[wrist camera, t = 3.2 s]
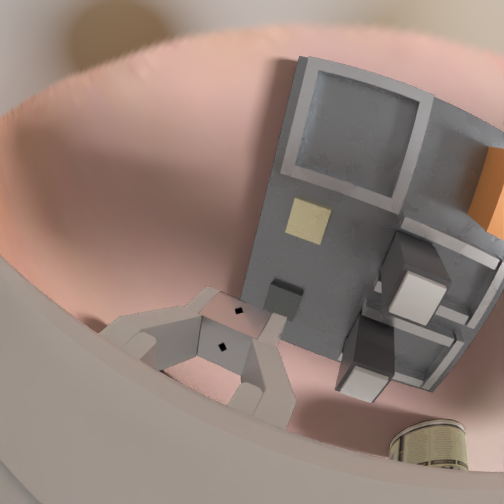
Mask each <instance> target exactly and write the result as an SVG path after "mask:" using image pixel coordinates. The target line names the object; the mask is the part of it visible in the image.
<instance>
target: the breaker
mask: <svg viewBox="0 0 504 504" xmlns="http://www.w3.org/2000/svg"><path fill="white" fill-rule="evenodd" d="M394 375H395V345H394V327H393V326H390V325H387V324H384V323H382V322H379V321H376V320H374V319H371V318H368V317H366V316H363V315H362V314H360V315H359V317H358V318H357V320H356V322H355V324H354V326H353V328H352V330H351V332H350V334H349V336H348V338H347V340H346V341H345V345H344V350H343V355H342V360H341V364H340V369H339V373H338V378H337V382H336V386H335V390H336V391H339V392H340V393H341V394H344V395H347V396H350V397H353V398H356V399H359V400H362V401H365V402H369V403H373V402H374V401H375V400H376V399H377V397H378V396H379V395H380V394H381V392H382V391H383V390H384V388H385V387H386V386H387V385H388V383H389V382H390V381H391V379H392V378H393V377H394Z"/></svg>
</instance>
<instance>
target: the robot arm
mask: <svg viewBox="0 0 504 504" xmlns="http://www.w3.org/2000/svg"><path fill="white" fill-rule="evenodd" d="M286 321H287V317H285V316H282V315H279V314H276V313H272V312H270V311H267V310H265V309H262V308H259V307H257V306H254V305H252V304H249V303H247V302H245V301H243V300H241V299H238V298H236V297H234V296H231V295H229V294H227V293H225V292H222V291H220V290H218V289H215V288H213V287H211V286H206V287H205V288H204V289H203V290H201V291H200V292H199V293H198V294H197V295H196V296H195V297H194V298H193V299H192V300H191V301H190V302H189V303H188V304H187V305H186V306H185V307H182V306H175V307H170V308H165V309H159V310H154V311H148V312H142V313H137V314H131V315H125V316H120V317H118V318H117V319H116V320H115V321H113V322H112V323H111V324H109V325H108V326H107V327H106V328H104V329H103V330H102V331H101V332H99V333H97V332H95V331H94V330H92V329H91V328H89V327H88V326H87V325H85V324H84V323H82V322H81V321H80V320H78V319H77V318H75V317H74V316H73V315H71V314H70V313H69V312H67V311H66V310H65V309H63V308H62V307H61V306H59V305H58V304H57V303H56V302H54V301H53V300H52V299H51V298H49V297H48V296H47V295H46V294H44V293H43V292H42V291H41V290H39V289H38V288H37V287H36V286H35V285H33V284H32V283H31V282H30V281H29V280H28V279H26V278H25V277H24V276H23V275H22V274H21V273H20V272H18V271H17V270H16V269H15V268H14V267H13V266H12V265H11V264H10V263H9V262H8V261H6V260H5V259H4V258H3V257H2V256H1V255H0V504H504V472H482V471H467V470H455V469H446V468H438V467H430V466H423V465H417V464H411V463H405V462H400V461H395V460H390V459H385V458H381V457H376V456H372V455H368V454H364V453H360V452H356V451H352V450H348V449H345V448H341V447H337V446H334V445H331V444H327V443H324V442H321V441H317V440H314V439H311V438H308V437H305V436H302V435H299V434H296V433H293V432H291V431H288V430H286V428H287V426H288V423H289V421H290V418H291V415H292V412H293V410H294V407H295V404H296V398H295V395H294V393H293V390H292V387H291V384H290V381H289V379H288V376H287V373H286V370H285V367H284V364H283V362H282V359H281V356H280V353H279V350H278V348H277V345H278V343H279V340H280V337H281V335H282V332H283V329H284V327H285V324H286ZM196 355H197V356H199V357H201V358H203V359H206V360H208V361H210V362H212V363H215V364H217V365H219V366H221V367H223V368H225V369H228V370H230V371H232V372H234V373H236V374H238V375H240V376H241V384H240V385H239V387H238V389H237V390H236V392H235V394H234V395H233V397H232V398H231V400H230V402H229V403H228V405H224V404H222V403H220V402H218V401H216V400H214V399H211V398H209V397H207V396H205V395H203V394H201V393H199V392H197V391H195V390H193V389H191V388H189V387H187V386H185V385H183V384H182V383H180V382H178V381H176V380H174V379H172V378H170V377H168V376H167V375H165V374H163V373H161V372H159V371H160V370H163V369H165V368H168V367H171V366H173V365H176V364H178V363H181V362H183V361H186V360H188V359H191V358H193V357H196Z"/></svg>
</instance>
